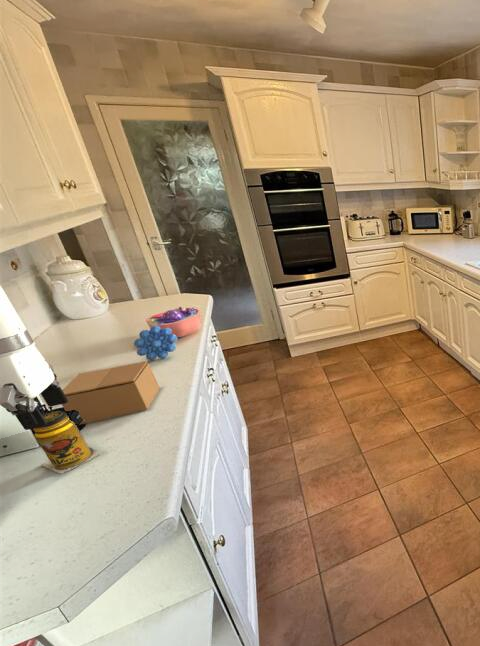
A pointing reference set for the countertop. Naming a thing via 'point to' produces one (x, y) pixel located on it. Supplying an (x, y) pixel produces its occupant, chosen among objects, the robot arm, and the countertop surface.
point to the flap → (86, 381)
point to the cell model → (177, 321)
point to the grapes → (155, 342)
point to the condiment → (63, 443)
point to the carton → (116, 394)
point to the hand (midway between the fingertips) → (48, 415)
